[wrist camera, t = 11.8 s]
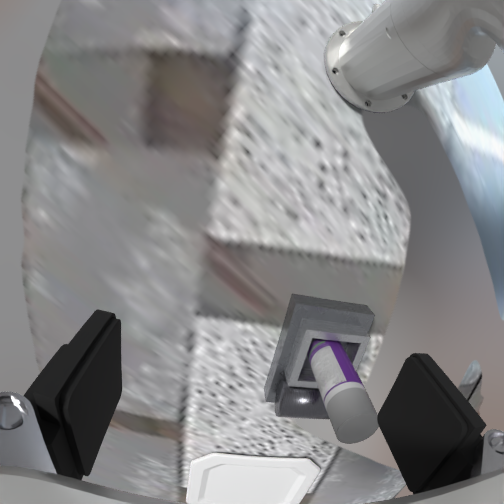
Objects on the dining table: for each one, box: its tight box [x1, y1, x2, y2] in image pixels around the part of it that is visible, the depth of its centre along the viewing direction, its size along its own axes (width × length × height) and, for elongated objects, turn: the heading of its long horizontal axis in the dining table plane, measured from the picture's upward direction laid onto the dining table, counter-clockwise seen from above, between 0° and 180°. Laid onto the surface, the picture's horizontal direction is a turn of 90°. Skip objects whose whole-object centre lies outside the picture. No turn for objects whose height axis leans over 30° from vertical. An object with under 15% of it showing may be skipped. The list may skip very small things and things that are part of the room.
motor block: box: [264, 294, 375, 419], centre depth 40 cm, size 16×11×8 cm
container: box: [307, 338, 379, 444], centre depth 33 cm, size 5×5×15 cm
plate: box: [186, 453, 320, 504], centre depth 53 cm, size 25×25×2 cm
